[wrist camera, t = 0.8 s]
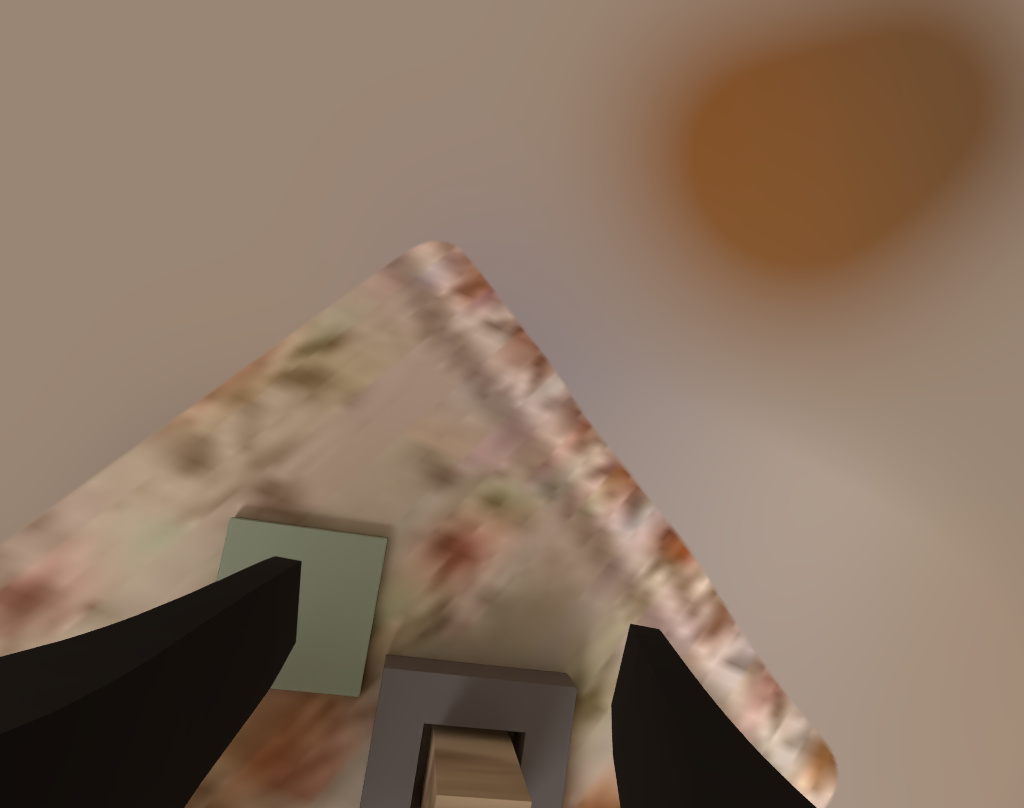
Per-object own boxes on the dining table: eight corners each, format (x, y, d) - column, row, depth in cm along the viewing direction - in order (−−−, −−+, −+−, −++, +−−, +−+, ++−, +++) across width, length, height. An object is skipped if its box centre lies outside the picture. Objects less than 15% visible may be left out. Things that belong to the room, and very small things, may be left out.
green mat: (360, 692, 29) (359, 696, 28) (199, 676, 28) (194, 681, 27) (387, 537, 30) (387, 539, 30) (234, 517, 29) (230, 517, 28)
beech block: (495, 804, 30) (517, 907, 23) (419, 799, 29) (419, 902, 22) (506, 725, 30) (531, 801, 23) (433, 718, 30) (436, 795, 23)
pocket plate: (541, 870, 30) (550, 898, 28) (350, 860, 28) (345, 889, 26) (567, 673, 31) (577, 687, 29) (386, 654, 29) (383, 667, 28)
